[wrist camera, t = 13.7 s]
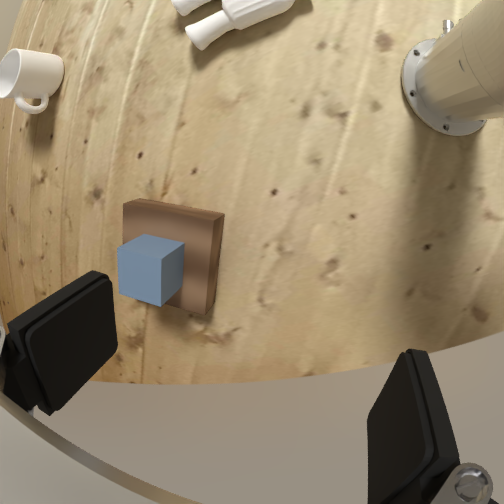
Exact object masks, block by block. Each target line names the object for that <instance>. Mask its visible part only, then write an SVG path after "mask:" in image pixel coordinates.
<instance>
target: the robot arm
mask: <svg viewBox="0 0 504 504" xmlns="http://www.w3.org/2000/svg"><path fill="white" fill-rule="evenodd" d="M443 30H444V34H442V35H441V36H439V37H438V38H437V39H435V38H433V39H427V40H424V41H422V42H419V43H418V44H416V45H415V46H414V47H413V48H412V49H411V50H410V51H409V52H408V54H407V56H406V57H405V59H404V62H403V65H402V73H401V78H402V86H403V90H404V94H405V96H406V98H407V100H408V103H409V104H410V106H411V108H412V109H413V111H414V112H415V113H416V114H417V116H418V117H419V118H420V119H421V120H422V121H423V122H424V123H426V124H427V125H428V126H429V127H431V128H433V129H434V130H436V131H438V132H440V133H443V134H446V135H451V136H463V135H469V134H471V133H474V132H476V131H477V130H478V129H480V128H481V127H482V126H483V125H484V124H485V122H486V121H487V119H494V118H503V117H504V0H482V1H481V2H480V3H479V4H478V5H477V6H475V7H474V8H473V9H472V10H471V11H470V12H469V13H468V14H467V15H466V16H465V17H464V18H463V19H459V22H458V23H457V24H456V25H455V26H454V24H453V22H451V21H449V20H443ZM414 53H415V54H416V55H417V56H415V55H414ZM410 93H412V94H413V97H412V96H411V95H410ZM443 126H445V129H444V128H443ZM7 325H8V328H9V332H10V333H9V334H7V335H6V332H5V330H4V328H3V327H2V326H0V504H202V503H199V502H196V501H192V500H190V499H187V498H184V497H181V496H179V495H176V494H173V493H171V492H168V491H166V490H163V489H161V488H158V487H156V486H153V485H151V484H149V483H147V482H144V481H142V480H140V479H138V478H135V477H133V476H131V475H129V474H127V473H125V472H123V471H121V470H119V469H117V468H115V467H113V466H111V465H109V464H107V463H105V462H103V461H102V460H100V459H98V458H96V457H94V456H93V455H91V454H89V453H87V452H86V451H84V450H82V449H81V448H79V447H77V446H76V445H74V444H72V443H71V442H69V441H68V440H66V439H65V438H63V437H61V436H60V435H58V434H57V433H55V432H54V431H52V430H51V429H49V428H48V427H47V426H45V425H44V424H42V423H41V422H40V421H38V420H37V419H35V418H34V417H33V411H34V408H33V407H34V406H36V405H37V406H38V408H39V409H40V410H41V411H43V412H44V413H46V414H47V415H49V416H50V415H51V414H52V413H53V412H54V411H58V410H60V409H61V408H62V407H63V406H64V405H65V404H66V403H67V402H68V401H69V400H70V399H71V398H72V396H73V395H74V394H76V392H77V391H78V390H79V389H80V388H81V387H82V386H83V385H84V384H85V383H86V382H87V381H88V380H89V379H90V378H91V377H92V376H93V375H94V374H95V373H96V372H97V371H98V370H99V369H100V368H101V367H102V366H103V365H104V364H105V363H106V362H107V361H108V360H109V359H110V358H111V357H112V356H113V355H114V353H115V352H116V350H117V347H118V342H117V333H116V324H115V313H114V302H113V288H112V282H111V281H110V280H109V277H108V276H107V275H106V274H103V273H100V272H97V271H93V270H92V271H90V272H88V273H86V274H85V275H83V276H81V277H80V278H78V279H76V280H75V281H73V282H71V283H70V284H68V285H66V286H65V287H63V288H62V289H60V290H58V291H57V292H55V293H54V294H52V295H50V296H49V297H47V298H46V299H44V300H42V301H41V302H39V303H38V304H36V305H35V306H33V307H32V308H30V309H28V310H27V311H25V312H24V313H22V314H21V315H19V316H18V317H16V318H15V319H13V320H12V321H10V322H9V323H7ZM367 433H368V434H367V435H368V504H498V503H497V502H496V501H494V500H493V499H491V495H492V491H493V483H492V480H491V477H490V475H489V474H488V472H487V471H486V470H485V469H484V468H483V467H481V466H479V465H477V464H475V463H463V464H460V460H459V453H458V449H457V445H456V441H455V437H454V434H453V430H452V426H451V423H450V420H449V416H448V413H447V409H446V406H445V403H444V400H443V397H442V393H441V391H440V387H439V384H438V381H437V378H436V376H435V373H434V370H433V367H432V364H431V362H430V359H429V356H428V354H427V352H426V351H422V350H416V349H408V350H407V351H406V352H405V353H404V352H402V353H401V354H400V355H399V357H398V359H397V361H396V363H395V365H394V367H393V370H392V371H391V373H390V375H389V377H388V379H387V381H386V383H385V385H384V387H383V389H382V391H381V393H380V394H379V396H378V398H377V400H376V402H375V403H374V405H373V407H372V409H371V410H370V412H369V415H368V419H367Z"/></svg>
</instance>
